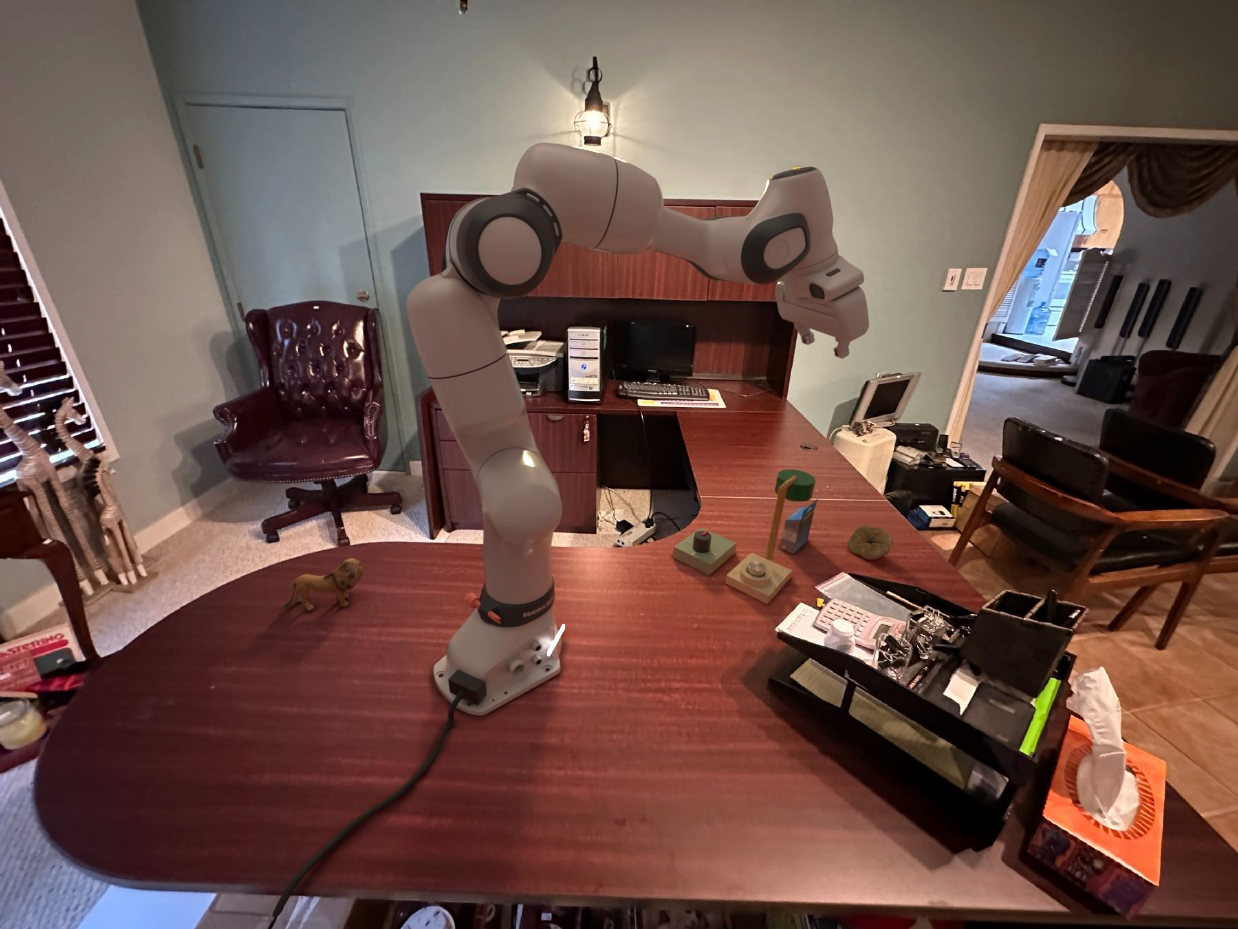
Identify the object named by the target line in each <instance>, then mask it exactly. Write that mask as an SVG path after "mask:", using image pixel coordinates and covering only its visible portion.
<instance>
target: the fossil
mask: <svg viewBox="0 0 1238 929" xmlns="http://www.w3.org/2000/svg"><path fill="white" fill-rule="evenodd" d="M893 544H894V539H893V538H892V535H891V533H890V532H889V531H888V530H887V529H885V528H883V527H880V526H871V525H867V524H866V525H861V526H858V527H857V528H855V529H854V531H853V532H852V534H851V536H850V538H849V540H848V541H847V548H848V550H849V551H850V552H851V553H852V554H855V555H857V556H860V557H861V558H863V559H866V560H877V559H880V558H882V557H884V556H886V555H887V554H888V553H890V552H891V549H892V546H893Z"/></svg>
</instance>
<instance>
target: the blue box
mask: <svg viewBox="0 0 1238 929" xmlns="http://www.w3.org/2000/svg"><path fill="white" fill-rule="evenodd" d="M818 500H819V498H816V499H815V500H814V501H813V502H812V503H810V505H808V506H802V507H801V506H800V507H799V508H798V509H796V510H795V511H794V512H793V513H792V514H791V515H790V516H789V517H787V518H786V519H785V521H784V526H783V531H782V536H781V541H780V545H779V549H780V550H782V551H785V552H787V553H789V554H793V555H794V554H795V553H796V552H798V550H800V548H802V547H803V546H804V545H805V543H807V542H808V540H809V536H810V531H811V526H812V523H813V518H814V514H815V509H816V506H817V504H818Z"/></svg>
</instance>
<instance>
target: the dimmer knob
mask: <svg viewBox="0 0 1238 929" xmlns="http://www.w3.org/2000/svg"><path fill="white" fill-rule="evenodd" d="M696 531H697V530H696ZM708 531H709V530H708ZM708 531H697V532H695V531H694V532H695V533H694V532H693V533H694V539H693V549H694V550H695V551H697V552H700V553H706V552H708V551H709V550H710V544H711V537H712V536H711V534H710V533H708Z"/></svg>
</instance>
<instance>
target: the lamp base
mask: <svg viewBox="0 0 1238 929" xmlns="http://www.w3.org/2000/svg"><path fill="white" fill-rule="evenodd" d="M751 561H758V562H761V563H763V564H764V565H765V573H764V576H763V577H754V576H752V575H750V574H748V572H747V569H748V564H749V562H751ZM792 573H793V570H792V569H790V568H788V567H786V566H783V565H781V564H779V563H776V562H774V561H772V560H767V559H766V558H765V557H762V556H760V555H758V554H756V553H754V552H751V553H749V554H748V555H747V556H746V557H745V558H744V559H742V560H741V561H740V562H739V563H738V564H737V565H736V566H735V567H734V568H733V569H731V570H730V571H729V572H728V573H727V574H726V576H725V581H724V584H726V585H727V586H729V587H732V588H733V589H736V590H737V591H740V592H742V593H744V594H746V595H748V596H750V597H752V598H754V599H756V600H758V601H760V602H763V603H764V604H766V605H768V604H769V603H770V602H771V601H772V599H773V598H774V597H775V596H776V595H777V594H778V593H779V592H780V590H781V589H782V588H783V587H784V586H785V585H786V584H787V583H788V581H789V580H790V579H791V577H792Z"/></svg>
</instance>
